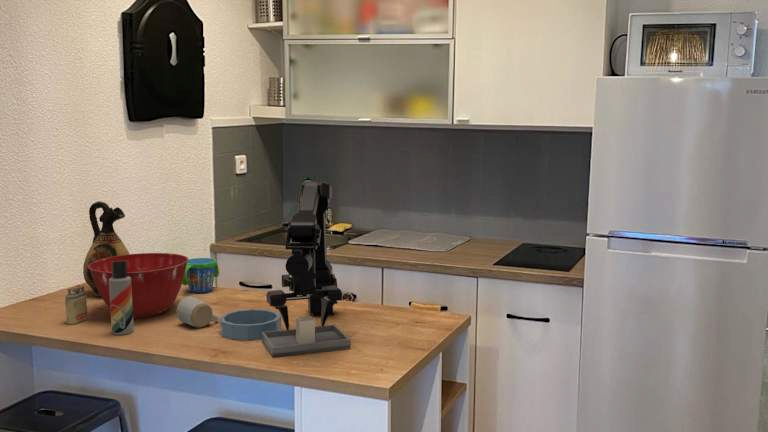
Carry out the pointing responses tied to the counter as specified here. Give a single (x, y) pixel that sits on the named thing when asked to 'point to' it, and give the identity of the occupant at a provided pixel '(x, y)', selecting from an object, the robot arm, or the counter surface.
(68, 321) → the lighter
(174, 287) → the mixing bowl
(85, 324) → the counter surface
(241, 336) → the blue ring
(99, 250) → the ceramic jug
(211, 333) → the counter surface
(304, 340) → the beige rectangular block
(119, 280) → the lotion bottle
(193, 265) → the snack cup
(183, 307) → the ceramic mug
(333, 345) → the tray
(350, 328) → the counter surface
